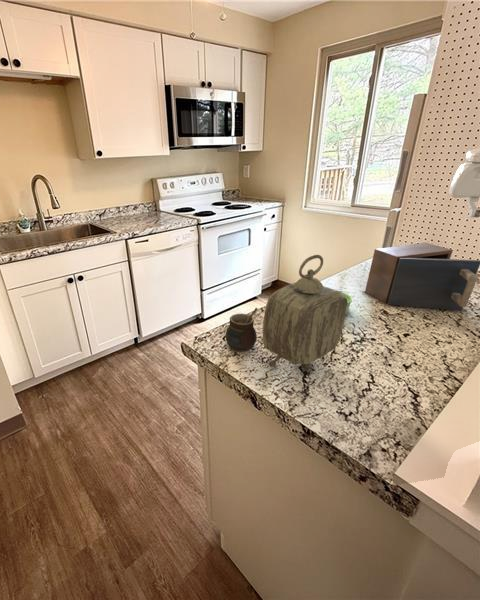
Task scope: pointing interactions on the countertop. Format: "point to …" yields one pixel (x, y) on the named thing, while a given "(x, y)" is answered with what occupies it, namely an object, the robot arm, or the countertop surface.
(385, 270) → the cupboard
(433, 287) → the cupboard door
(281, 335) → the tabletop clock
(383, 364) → the countertop surface
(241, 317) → the mate gourd
